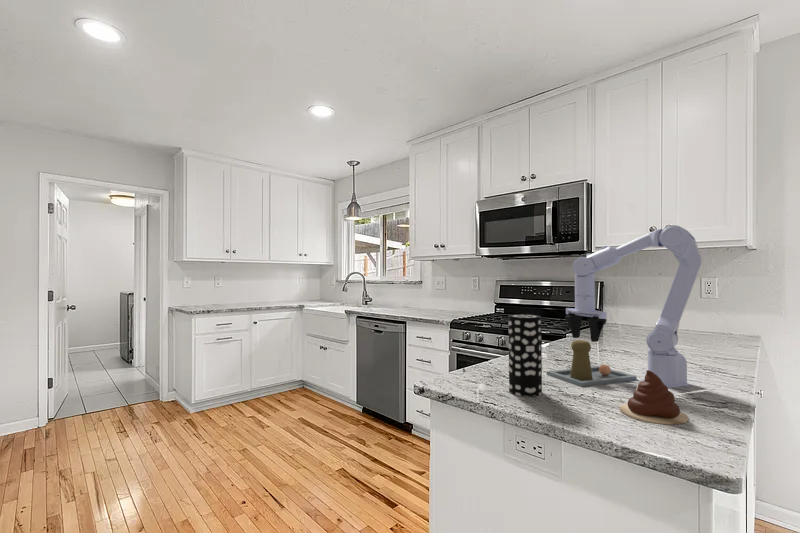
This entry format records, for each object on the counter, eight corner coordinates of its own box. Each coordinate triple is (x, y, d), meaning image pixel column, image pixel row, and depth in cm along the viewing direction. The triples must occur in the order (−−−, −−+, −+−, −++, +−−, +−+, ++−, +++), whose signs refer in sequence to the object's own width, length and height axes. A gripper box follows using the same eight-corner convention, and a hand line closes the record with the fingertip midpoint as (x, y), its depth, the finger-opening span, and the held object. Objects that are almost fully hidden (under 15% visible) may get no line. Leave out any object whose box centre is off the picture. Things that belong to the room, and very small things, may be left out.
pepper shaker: (595, 381, 117) (595, 342, 117) (573, 380, 118) (573, 342, 118) (588, 376, 123) (588, 339, 123) (567, 375, 124) (567, 338, 124)
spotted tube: (547, 391, 109) (546, 315, 110) (533, 398, 103) (532, 318, 103) (518, 385, 115) (517, 313, 115) (503, 392, 109) (502, 316, 109)
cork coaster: (647, 401, 100) (647, 400, 100) (702, 419, 88) (702, 418, 88) (606, 408, 96) (606, 406, 96) (658, 428, 84) (658, 426, 84)
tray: (597, 370, 132) (597, 365, 132) (636, 381, 119) (636, 376, 119) (546, 376, 125) (546, 371, 125) (581, 388, 112) (581, 383, 112)
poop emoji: (631, 416, 90) (630, 373, 90) (624, 404, 98) (624, 364, 98) (685, 421, 86) (684, 377, 86) (673, 409, 94) (673, 367, 94)
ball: (604, 373, 126) (604, 363, 126) (613, 376, 123) (613, 365, 123) (596, 374, 125) (596, 364, 125) (605, 377, 122) (604, 366, 122)
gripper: (558, 295, 134) (558, 336, 134) (592, 297, 121) (593, 344, 121) (575, 294, 137) (575, 335, 137) (611, 297, 123) (611, 342, 123)
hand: (585, 339), depth 129 cm, fingers open, 7 cm apart
